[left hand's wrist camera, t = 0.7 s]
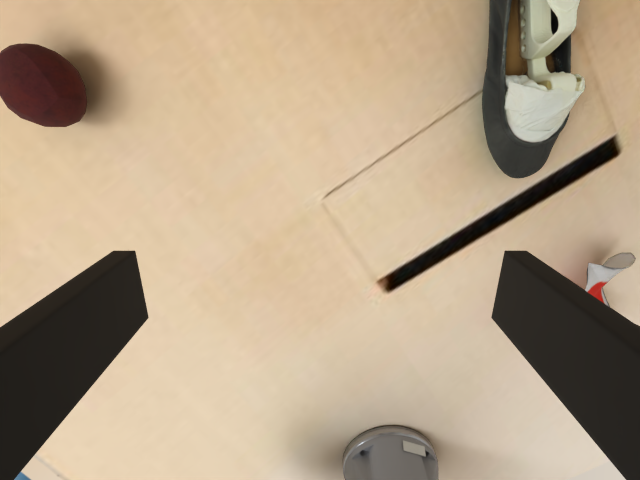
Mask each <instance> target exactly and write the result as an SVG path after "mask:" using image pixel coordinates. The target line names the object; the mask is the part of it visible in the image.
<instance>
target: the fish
mask: <svg viewBox="0 0 640 480" xmlns="http://www.w3.org/2000/svg"><path fill="white" fill-rule="evenodd" d="M635 259H636V258H635V257H634V255H633V254H632V253H620V254H617V255H615V256H613V257H611V258H609V259H608V260H607V261H606V262H605V263H604V264H603V266H602V265H597V264H592V263H588V269H587V286H586V290H585V291H587V292H588V293H590V294H591V295H592V296H594V297H595V298H597V299H598V300H600V301H601V302H603V303H604V304H606V305H607V306H609V304H608V302H607V299H606V297H605V295H604V292H603V288H602V287H603V286H604V285H605V284H606V283H607V282H608V281H609V280H610V279H612V278H613V277H614V276H615V275H616V274H618V273H619V272H620V271H622V270H624V269H626V268H628V267H630V266H631V265H632V264H633V263H634V261H635ZM609 307H610V306H609Z"/></svg>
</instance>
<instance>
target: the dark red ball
mask: <svg viewBox="0 0 640 480" xmlns="http://www.w3.org/2000/svg"><path fill="white" fill-rule="evenodd" d="M0 96H1V98H2V99H3V101H4V103H5V104H6V106H7V107H8V108H9V109H10V110H11V111H13V112H14V113H15V114H17V115H18V116H19V117H20V118H23V119H25V120H28V121H31V122H34V123H36V124H39V125H42V126H45V127H66V126H69V125H72V124H74V123H76V122H79V121H80V120H81V118H82V117H83V115H84V114H85V110H86V105H87V98H86V91H85V86H84V83H83V81H82V79H81V77H80V75H79V72H78V71H77V70H76V69H75V68H74V67H73V65H72V64H71V63H70V62H69V61H67V60H66V59H65V58H63V57H62V56H61V55H59V54H58V53H56V52H55V51H52V50H50V49H47V48H45V47H42V46H40V45H36V44H16V45H11V46H8V47H7V48H5V49H4V50H2V51H1V53H0Z"/></svg>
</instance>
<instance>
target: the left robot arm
mask: <svg viewBox="0 0 640 480" xmlns="http://www.w3.org/2000/svg"><path fill="white" fill-rule="evenodd" d="M147 319H148V313H147V308H146V303H145V298H144V293H143V288H142V283H141V278H140V273H139V268H138V263H137V258H136V253H135V251H113V252H111V253H110V254H108V255H107V256H105V257H104V258H102V259H101V260H99V261H98V262H96V263H95V264H93V265H92V266H90V267H89V268H87V269H86V270H85V271H83V272H82V273H80V274H79V275H77V276H76V277H74V278H73V279H71V280H70V281H68V282H67V283H65V284H64V285H62V286H61V287H59V288H58V289H56V290H55V291H53V292H52V293H50V294H49V295H48V296H46V297H45V298H43V299H42V300H40V301H39V302H37V303H36V304H34V305H33V306H31V307H30V308H28V309H27V310H25V311H24V312H22V313H21V314H19V315H18V316H16V317H15V318H14V319H12V320H11V321H9V322H8V323H6V324H5V325H3V326H2V327H0V480H14V479H15V478H16V476H17V475H18V474H19V473H20V472H21V470H22V469H23V468H24V467H25V465H26V464H27V463H28V462H29V461H30V460H31V458H32V457H33V456H34V455H35V454H36V452H37V451H38V450H39V449H40V448H41V446H42V445H43V444H44V443H45V442H46V440H47V439H48V438H49V437H50V435H51V434H52V433H53V432H54V431H55V429H56V428H57V427H58V426H59V425H60V423H61V422H62V421H63V420H64V419H65V417H66V416H67V415H68V414H69V413H70V411H71V410H72V409H73V408H74V407H75V405H76V404H77V403H78V402H79V401H80V399H81V398H82V397H83V396H84V395H85V393H86V392H87V391H88V390H89V389H90V387H91V386H92V385H93V384H94V383H95V381H96V380H97V379H98V378H99V377H100V375H101V374H102V373H103V372H104V371H105V369H106V368H107V367H108V366H109V365H110V363H111V362H112V361H113V360H114V359H115V357H116V356H117V355H118V354H119V352H120V351H121V350H122V349H123V348H124V346H125V345H126V344H127V343H128V342H129V340H130V339H131V338H132V337H133V336H134V334H135V333H136V332H137V331H138V330H139V328H140V327H141V326H142V325H143V324H144V322H145V321H146V320H147ZM492 319H493V320H494V321H495V322H496V324H497V325H498V326H499V327H500V328H501V330H502V331H503V332H504V333H505V334H506V336H507V337H508V338H509V339H510V340H511V342H512V343H513V344H514V345H515V346H516V348H517V349H518V350H519V351H520V352H521V354H522V355H523V356H524V357H525V359H526V360H527V361H528V362H529V363H530V365H531V366H532V367H533V368H534V369H535V371H536V372H537V373H538V374H539V375H540V377H541V378H542V379H543V380H544V381H545V383H546V384H547V385H548V386H549V387H550V389H551V390H552V391H553V392H554V393H555V395H556V396H557V397H558V398H559V399H560V401H561V402H562V403H563V404H564V405H565V407H566V408H567V409H568V410H569V411H570V413H571V414H572V415H573V416H574V417H575V419H576V420H577V421H578V422H579V423H580V425H581V426H582V427H583V428H584V429H585V431H586V432H587V433H588V434H589V435H590V437H591V438H592V439H593V440H594V442H595V443H596V444H597V445H598V446H599V448H600V449H601V450H602V451H603V452H604V454H605V455H606V456H607V457H608V458H609V460H610V461H611V462H612V463H613V464H614V466H615V467H616V468H617V469H618V470H619V472H620V473H621V474H622V475H623V476H624V478H625V479H626V480H640V326H638V325H636V324H634V323H632V322H631V321H629V320H628V319H626V318H625V317H624V316H622V315H621V314H619V313H618V312H616V311H615V310H613V309H612V308H610V307H609V306H607V305H606V304H604V303H603V302H601V301H600V300H598V299H597V298H595V297H594V296H592V295H591V294H590V293H588V292H587V291H585V290H584V289H582V288H581V287H579V286H578V285H576V284H575V283H573V282H572V281H570V280H569V279H567V278H566V277H564V276H563V275H561V274H560V273H558V272H557V271H555V270H554V269H553V268H551V267H550V266H548V265H547V264H545V263H544V262H542V261H541V260H539V259H538V258H536V257H535V256H533V255H532V254H530V253H529V252H527V251H505V253H504V258H503V263H502V268H501V273H500V278H499V283H498V288H497V293H496V298H495V303H494V308H493V313H492ZM343 472H344V477H345V480H438V461H437V457H436V454H435V451H434V448H433V446H432V444H431V443H430V441H429V440H428V439H427V438H426V437H425V436H424V435H422V434H421V433H419V432H417V431H415V430H412V429H410V428H406V427H400V426H384V427H378V428H374V429H371V430H368V431H366V432H364V433H362V434H360V435H359V436H357V437H356V438H355V439H354V440H353V441H352V442H351V443H350V444H349V445H348V446H347V448H346V450H345V452H344V456H343Z"/></svg>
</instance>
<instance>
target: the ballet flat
mask: <svg viewBox="0 0 640 480" xmlns="http://www.w3.org/2000/svg"><path fill="white" fill-rule="evenodd" d="M579 2H580V0H490V16H489V45H488V47H489V48H488V58H487V69H486V73H485V79H484V86H483V96H482V109H483V120H484V128H485V134H486V139H487V143H488V147H489V150H490V152H491V154H492V156H493V158H494V160H495V162H496V163H497V165H498V166H499V168H500V169H501V170H502V171H503V172H504V173H505V174H506V175H508V176H510V177H512V178H524V177H527V176H530V175H532V174H534V173H536V172H537V171H538V170H540V169H541V168H542V166H543V165H544V164H545V162H546V160H547V158H548V156H549V154H550V151H551V149H552V147H553V145H554V143H555V141H556V139H557V137H558V135H559V133H560V132H561V131H562V129H563V128H564V126H565V124H566V122H567V120H568V117H569V113H570V110H571V109H572V107H573V105H574V104H575V102H576V100H577V99H578V97H579V96H580V95H581V94H582V93H583V91H584V89H585V82H584V81H585V80H584V77H581V76H580V75H579V74H575V75H573V74H571V71H570V70H571V33H572V32H573V31H574V29H575V27H576V20H577V9H578V5H579Z"/></svg>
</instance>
